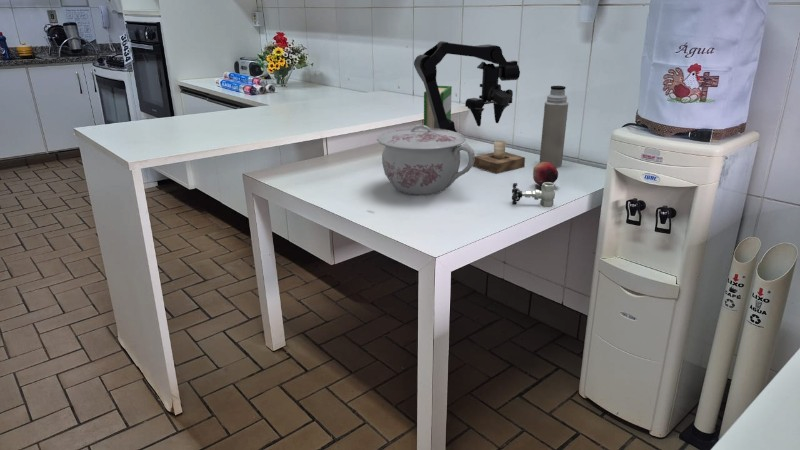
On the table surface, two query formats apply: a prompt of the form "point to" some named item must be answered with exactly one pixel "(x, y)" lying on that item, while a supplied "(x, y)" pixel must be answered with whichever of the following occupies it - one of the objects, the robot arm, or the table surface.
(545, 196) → the valve
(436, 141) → the chamber pot
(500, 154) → the peg
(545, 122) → the thermos bottle
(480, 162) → the socket block
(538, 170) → the fruit
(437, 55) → the robot arm
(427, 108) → the hardback book
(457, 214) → the table surface
